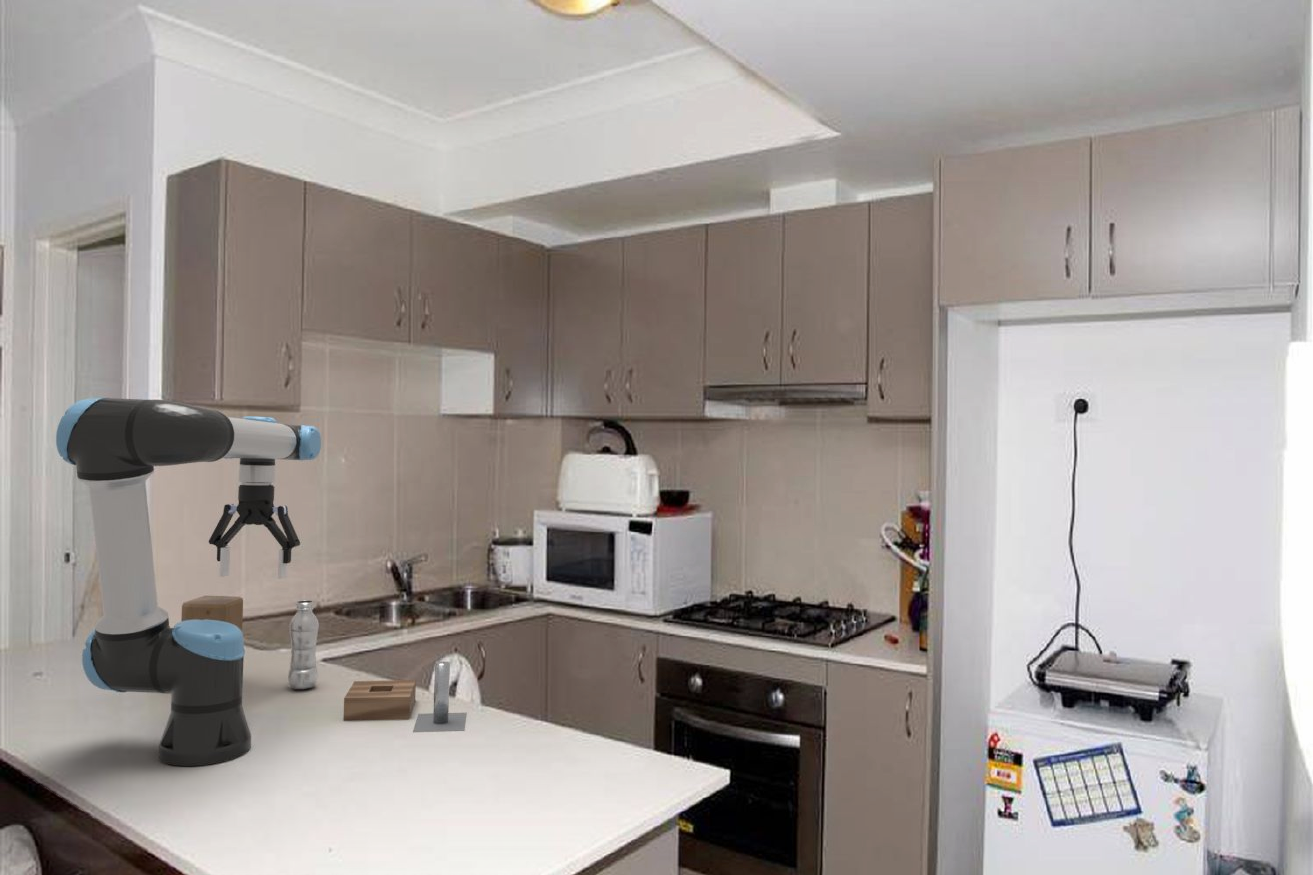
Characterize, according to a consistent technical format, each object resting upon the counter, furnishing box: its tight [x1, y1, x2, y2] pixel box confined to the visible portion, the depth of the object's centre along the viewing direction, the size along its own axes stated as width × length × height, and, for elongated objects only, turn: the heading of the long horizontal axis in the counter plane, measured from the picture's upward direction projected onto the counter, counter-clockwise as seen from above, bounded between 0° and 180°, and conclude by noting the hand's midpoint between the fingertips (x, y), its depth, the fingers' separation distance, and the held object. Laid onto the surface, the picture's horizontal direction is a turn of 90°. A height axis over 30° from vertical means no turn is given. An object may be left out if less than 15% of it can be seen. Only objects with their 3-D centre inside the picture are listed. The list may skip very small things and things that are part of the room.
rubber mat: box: [412, 712, 468, 733], centre depth 183 cm, size 12×10×1 cm
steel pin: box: [433, 660, 451, 724], centre depth 183 cm, size 3×3×12 cm
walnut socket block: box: [343, 679, 417, 722], centre depth 190 cm, size 13×13×5 cm
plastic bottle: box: [287, 599, 320, 690], centre depth 206 cm, size 6×7×20 cm
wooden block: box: [180, 595, 244, 632], centre depth 206 cm, size 10×10×20 cm
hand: (253, 576), depth 204 cm, fingers open, 13 cm apart
